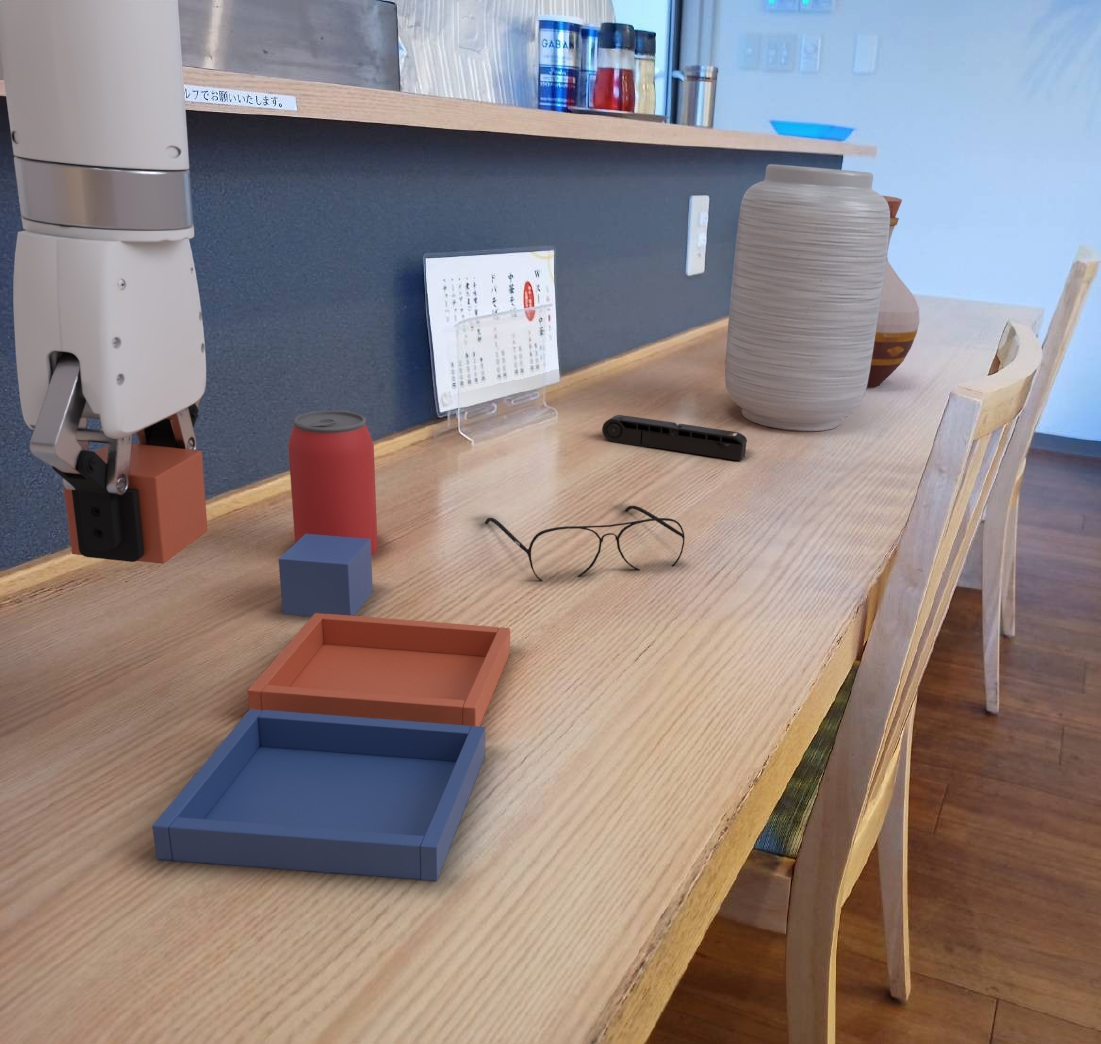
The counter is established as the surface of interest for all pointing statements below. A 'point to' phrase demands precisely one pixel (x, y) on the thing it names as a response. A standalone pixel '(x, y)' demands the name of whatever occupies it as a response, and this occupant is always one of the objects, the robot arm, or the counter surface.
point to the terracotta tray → (386, 670)
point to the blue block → (326, 575)
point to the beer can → (333, 476)
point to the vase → (805, 296)
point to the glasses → (654, 518)
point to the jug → (893, 317)
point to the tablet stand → (675, 437)
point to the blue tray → (326, 796)
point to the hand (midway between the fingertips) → (141, 534)
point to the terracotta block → (161, 499)
